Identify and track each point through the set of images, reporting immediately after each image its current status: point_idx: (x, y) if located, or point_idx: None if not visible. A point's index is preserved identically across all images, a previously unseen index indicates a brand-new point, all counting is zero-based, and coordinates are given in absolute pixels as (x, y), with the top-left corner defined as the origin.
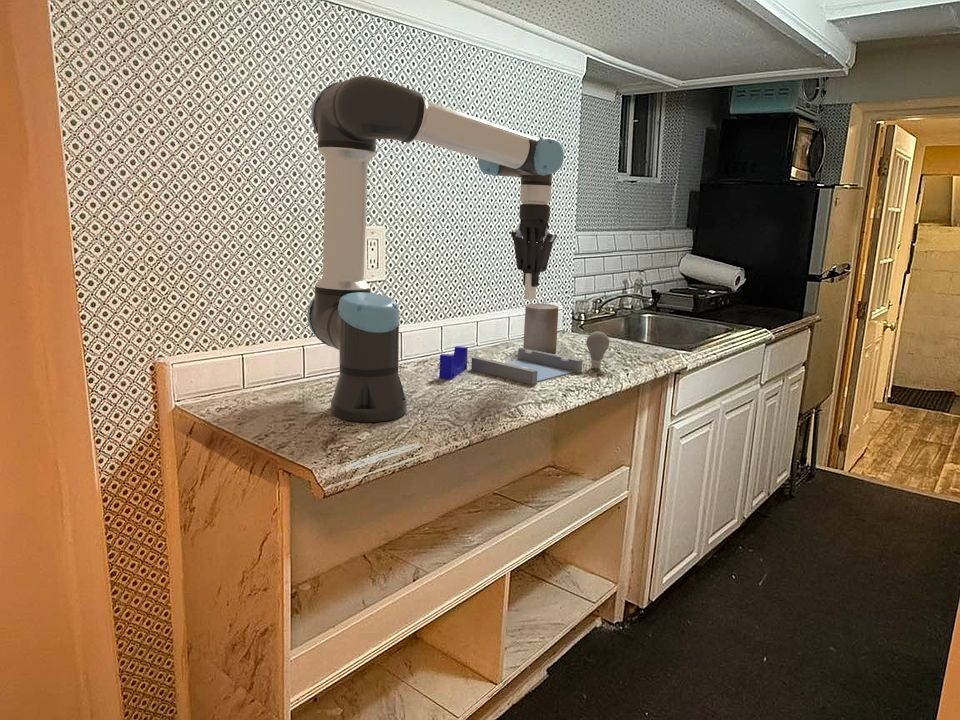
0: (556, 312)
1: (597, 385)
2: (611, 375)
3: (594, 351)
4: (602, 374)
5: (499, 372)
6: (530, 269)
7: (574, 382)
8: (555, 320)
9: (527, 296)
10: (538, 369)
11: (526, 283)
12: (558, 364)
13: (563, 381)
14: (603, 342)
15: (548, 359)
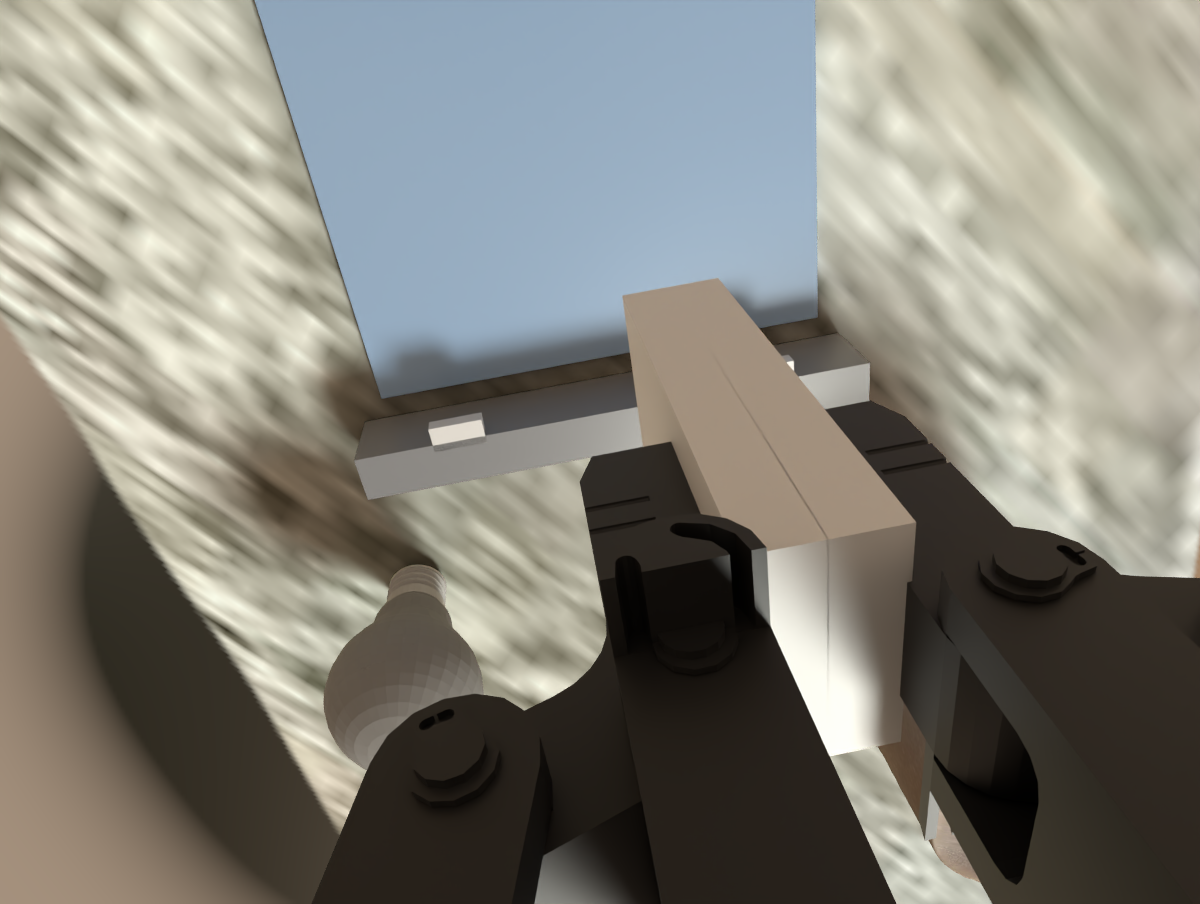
0: (915, 811)
1: (26, 313)
2: (237, 548)
3: (380, 620)
4: (278, 522)
5: None
6: (952, 762)
7: (150, 234)
8: (888, 756)
9: (662, 306)
10: (537, 249)
11: (770, 399)
12: (513, 405)
13: (201, 185)
14: (325, 694)
15: (599, 399)
